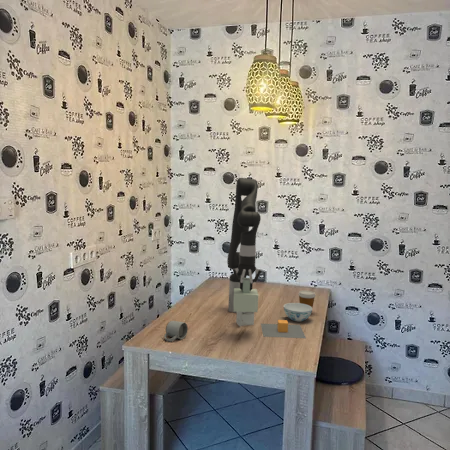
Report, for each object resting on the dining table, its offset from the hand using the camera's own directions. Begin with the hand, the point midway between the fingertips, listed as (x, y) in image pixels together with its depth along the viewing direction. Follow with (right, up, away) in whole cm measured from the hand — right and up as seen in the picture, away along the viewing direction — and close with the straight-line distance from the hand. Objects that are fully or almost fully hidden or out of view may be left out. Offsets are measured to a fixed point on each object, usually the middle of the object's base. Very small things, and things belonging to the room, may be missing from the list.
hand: (246, 290), depth 204 cm
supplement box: (0, -20, +17) cm, 27 cm away
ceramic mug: (-33, -22, -4) cm, 40 cm away
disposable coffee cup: (+36, -19, +40) cm, 57 cm away
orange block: (+18, -21, +8) cm, 29 cm away
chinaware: (+28, -20, +26) cm, 44 cm away
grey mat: (+18, -22, +8) cm, 30 cm away
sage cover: (0, -9, +1) cm, 9 cm away
